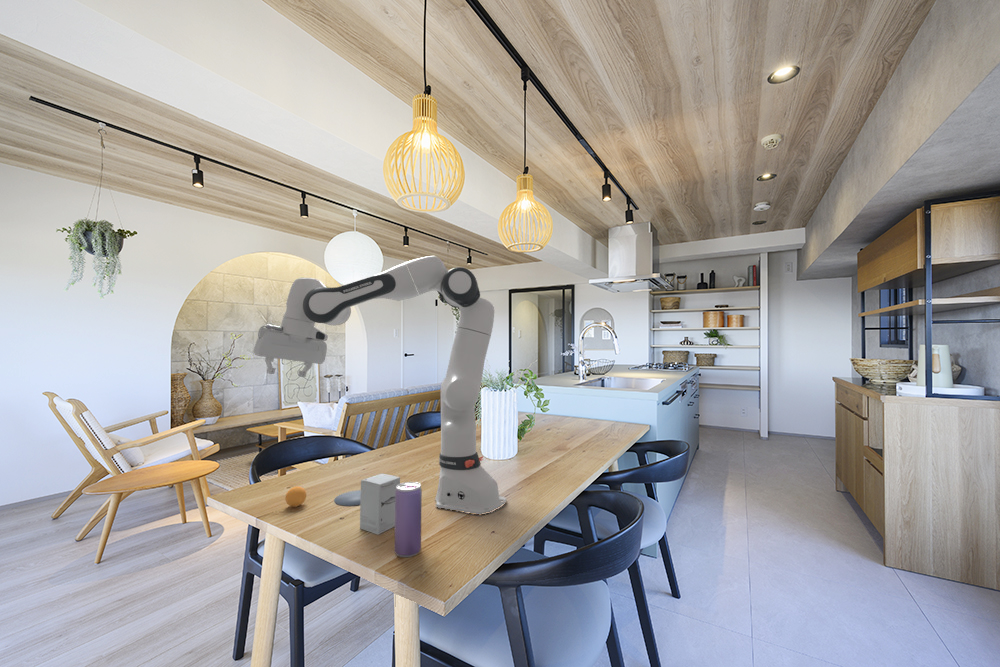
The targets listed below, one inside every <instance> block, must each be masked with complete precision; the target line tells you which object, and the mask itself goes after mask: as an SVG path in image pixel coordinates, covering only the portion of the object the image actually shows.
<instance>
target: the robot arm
mask: <svg viewBox="0 0 1000 667" xmlns="http://www.w3.org/2000/svg"><path fill="white" fill-rule="evenodd" d="M432 291H437V293H438V294H439V296H440V297H442V300H443V301H444V302H446V304H448V305H449V306H451V307H453V308H457V309H458V308H459V311H460V312H459V313H460V316H459V320H458V321H459V322H458V325H457V327H456V328H457V329H456V331H455V335H454V340H453V344H452V346H451V352H450V357H449V360H448V365H447V370H446V374H445V378H443V380H442V382H441V385H440V453H439V458H438V460H439V462H438V464H439V466H440V467H439V470H440V471H439V477H438V478H439V480H438V487H437V491H436V494H435V495H436V496H435V498H434V500H436V501H435V502H436V503H435V507H436V508H437V507H438V508H437V509H441V508H445V509H444V510H447V509H450V510H449V511H452V510H457V511H456V512H458V511H464V512H470V513H476V514H482V513H486V512H490V511H492V510H494V509H496V508H498V507H500V506H501V505H502V504H504V503H505V501H506V502H507V497H505V496H504V495H503V496H502V495H500V493H499V492H500V491H499V486H498V482H497V480H495V478H494V477H493V476H492V475H491V474H490V473H489V472H488V471H487V470H486V469H485V468H484V467H483V466H482V465H481V462H482V461H484V456H483V455H482V456H479V453H478V452H477V423H476V409H475V406H476V403H477V401H478V399H479V395H480V391H481V390H480V389H481V386H482V385H481V384H482V381H483V380H482V379H483V374H484V368H485V361H486V357H487V354H488V353H487V352H488V349H489V344H490V340H491V337H492V332H493V328H494V323H495V322H494V321H495V320H494V319H495V307H494V305H493V303H491V302H490V301H489V300H487V299H486V298H483V297H481V292H480V288H479V285H478V280H477V278H476V277H475V274H474V273H473V272H472V271H471V270H470V269H467V268H465V267H461V266H460V267H459V266H456V267H453V268H451V269H449V270H448V268H447V267H446V265H445V263H444V261H443V260H441V258H440V257H438V256H436V255H430V256H424V257H423V256H422V257H420V258H414V259H412V260H409V261H405V262H403V263H401V264H398V265H396V266H393V267H391V268H389V269H387V270H385V271H382V272H380V273H377V274H374V275H372V276H369V277H365V278H362V279H360V280H357V281H352V282H350V283H347V284H344V285H341V286H337V287H327V286H325V284H323V282H322V281H321V280H320V279H317V278H312V277H299V278H296V279H295V280H293V282H292V284H291V287H290V289H289V293H288V295H287V298H286V299H287V300H286V303H285V304H286V305H285V306H286V310H285V312H284V314H283V317H282V319H281V320H282V321H281V325H280V326H279V325H278V326H277V325H272V324H265V325H262V326H260V328H259V330H258V333H257V340H256V342H255V345H254V348H253V350H252V351H253V353H254V355H255V356H258V357H264V358H265V360H264V361H265V365H266V367H267V368H266V373H267V374H271V375H274V374H275V372H276V367H274V366H273V364H272V363H274V361H275V359H279V360H284V361H285V360H286V361H293V362H294V361H295V362H303V363H304V364H303V366H304V367H303V368H302V369H300V370H299V371H298V377H299V378H301V377H302V378H306V376H307V372H308V371H309V370H310V369H311V368H312V367H313V364H318V365H322V364H323V363H324V362H325V361H326V356H327V350H328V348H327V347H328V346H327V345H328V344H327V343H326V341H327V340H328V337H329V336H328V334H326V333H325V332H324V331H321V330H320V329H318V328H316V327H315V325H316V323H318V324H324V325H327V326H332V327H333V326H341V325H343V324H345V323H346V322H347V321H348V320H349V318H350V317H351V313H352V310H351V307H354V306H357V305H360V304H363V303H366V302H368V301H372V300H379V299H386V300H387V299H388V300H392V301H397V302H398V301H404V300H410V299H413V298H416V297H418V296H421V295H423V294H425V293H426V294H427V293H429V292H432ZM501 501H503V502H501Z"/></svg>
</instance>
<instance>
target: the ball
mask: <svg viewBox="0 0 1000 667" xmlns="http://www.w3.org/2000/svg"><path fill="white" fill-rule="evenodd" d="M306 499H307V491H306V489H305V488H304V487H303V486H294V487H292V488H290V489H289V490H288V491H287V492H286V494H285V500H284V501H285V503H286V504H287V505H288V506H289V507H295V508H296V507H299V506H301V505H303V503H305V501H306Z"/></svg>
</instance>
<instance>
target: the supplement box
mask: <svg viewBox="0 0 1000 667" xmlns="http://www.w3.org/2000/svg"><path fill="white" fill-rule="evenodd" d="M398 484H401V476H397V475H396V476H395V475H392V474H386V473H379V474H376V475H374V476H370V477H367V478H364V479H361V480H360V490H361V499H360V505H359V506H360V507H359V509H360V510H359V511H360V513H359V529H360V530H363V531H367V532H369V533H371V534H375V535H378V536H379V535H381V534H383V533H384V532H386V531H388V530H390V529H392V528H395V491H396V486H397V485H398Z"/></svg>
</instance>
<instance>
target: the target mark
mask: <svg viewBox="0 0 1000 667" xmlns="http://www.w3.org/2000/svg"><path fill="white" fill-rule="evenodd" d="M333 499H334V500H333V501H334V503H335V504H336V505H338V506H343V507H355V506H356V505H357V506H360V499H361V489H360V490H352V491H351V490H350V491H347V492H343V493H341V494H339V495H337V496H335V498H333ZM357 506H356V507H357Z"/></svg>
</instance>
